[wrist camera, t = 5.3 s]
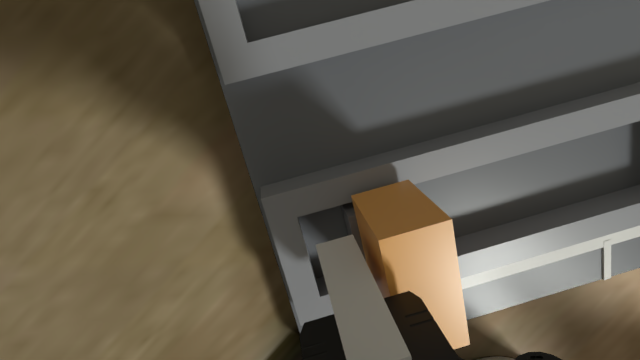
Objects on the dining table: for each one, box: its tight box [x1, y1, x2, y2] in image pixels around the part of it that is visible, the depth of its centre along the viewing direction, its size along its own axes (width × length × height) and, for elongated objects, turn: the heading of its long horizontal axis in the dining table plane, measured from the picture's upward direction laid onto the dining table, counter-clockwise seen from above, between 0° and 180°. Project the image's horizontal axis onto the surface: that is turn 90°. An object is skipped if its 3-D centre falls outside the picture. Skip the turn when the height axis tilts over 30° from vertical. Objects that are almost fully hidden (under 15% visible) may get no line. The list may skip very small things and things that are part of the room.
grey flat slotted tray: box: [194, 0, 640, 333], centre depth 18 cm, size 20×26×4 cm
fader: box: [341, 180, 470, 350], centre depth 16 cm, size 3×5×6 cm, turn 14°
